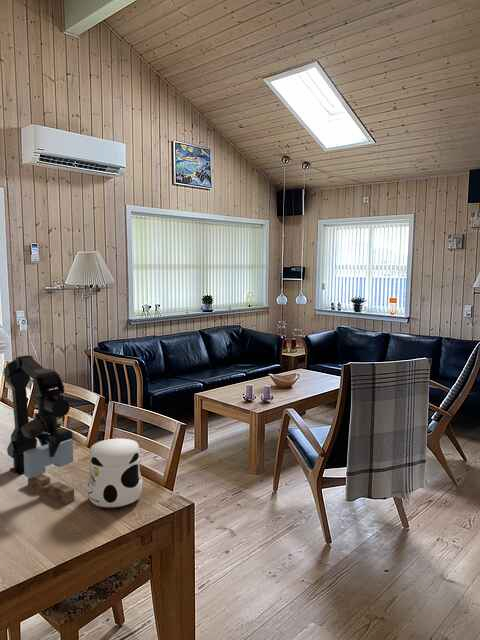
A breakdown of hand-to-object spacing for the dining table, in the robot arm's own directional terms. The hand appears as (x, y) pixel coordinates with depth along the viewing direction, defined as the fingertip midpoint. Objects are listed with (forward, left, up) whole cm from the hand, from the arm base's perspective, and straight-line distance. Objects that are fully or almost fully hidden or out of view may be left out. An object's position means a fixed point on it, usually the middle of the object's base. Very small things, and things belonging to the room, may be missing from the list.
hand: (49, 455), depth 164 cm
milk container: (+21, +10, -13) cm, 27 cm away
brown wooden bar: (0, 0, -13) cm, 13 cm away
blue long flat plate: (0, 0, -4) cm, 4 cm away
